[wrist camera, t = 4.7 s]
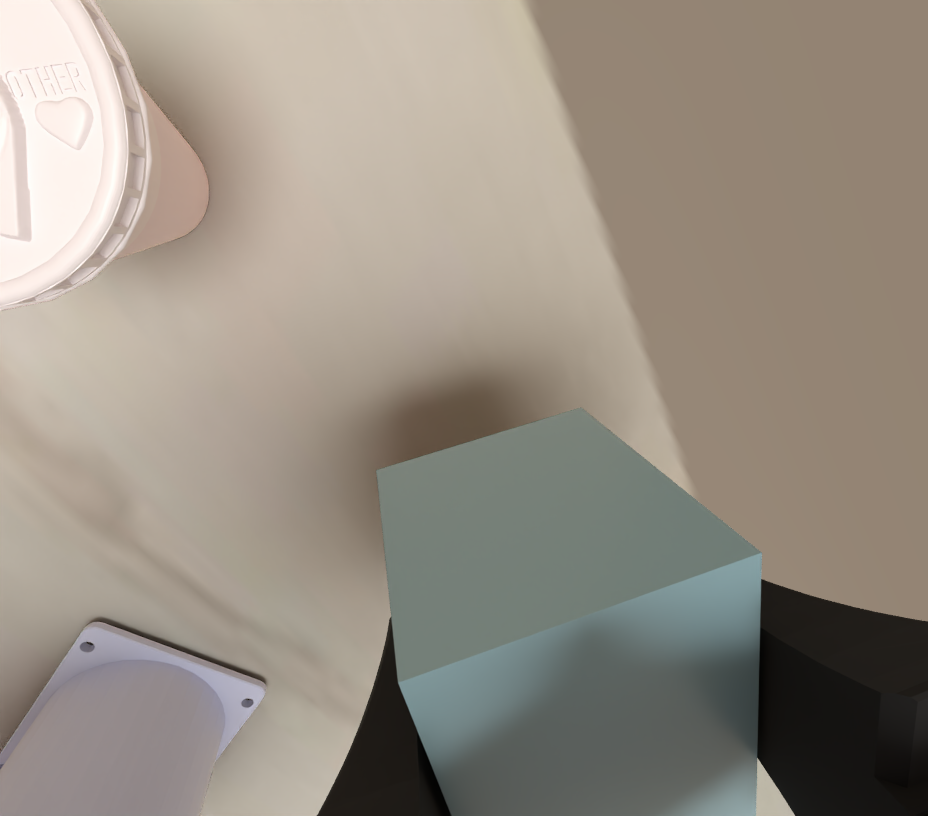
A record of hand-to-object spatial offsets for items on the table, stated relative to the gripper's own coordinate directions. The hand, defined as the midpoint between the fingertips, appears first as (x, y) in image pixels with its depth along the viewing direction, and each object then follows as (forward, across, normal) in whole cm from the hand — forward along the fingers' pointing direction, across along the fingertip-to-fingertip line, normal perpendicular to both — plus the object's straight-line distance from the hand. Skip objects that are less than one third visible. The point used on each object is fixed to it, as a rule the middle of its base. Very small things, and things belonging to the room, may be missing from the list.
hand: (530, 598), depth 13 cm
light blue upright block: (+2, 0, 0) cm, 2 cm away
